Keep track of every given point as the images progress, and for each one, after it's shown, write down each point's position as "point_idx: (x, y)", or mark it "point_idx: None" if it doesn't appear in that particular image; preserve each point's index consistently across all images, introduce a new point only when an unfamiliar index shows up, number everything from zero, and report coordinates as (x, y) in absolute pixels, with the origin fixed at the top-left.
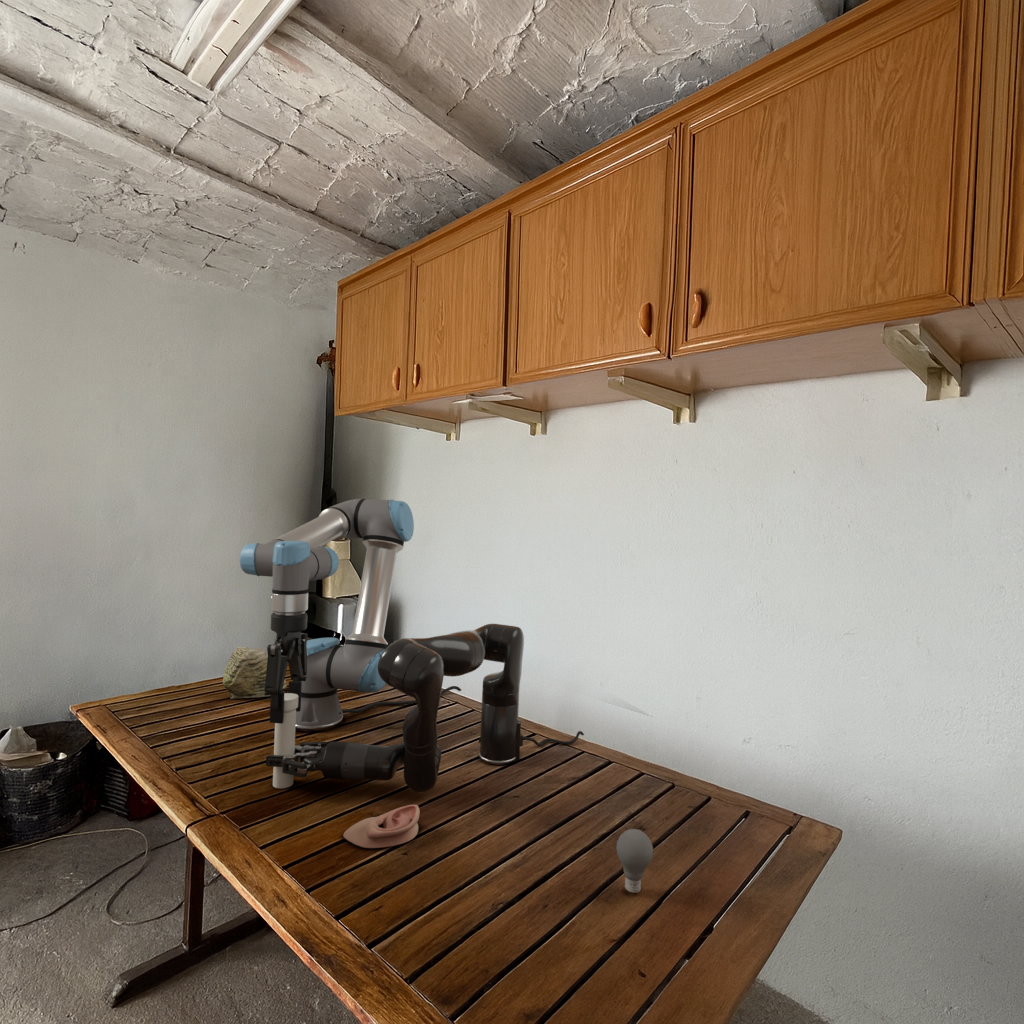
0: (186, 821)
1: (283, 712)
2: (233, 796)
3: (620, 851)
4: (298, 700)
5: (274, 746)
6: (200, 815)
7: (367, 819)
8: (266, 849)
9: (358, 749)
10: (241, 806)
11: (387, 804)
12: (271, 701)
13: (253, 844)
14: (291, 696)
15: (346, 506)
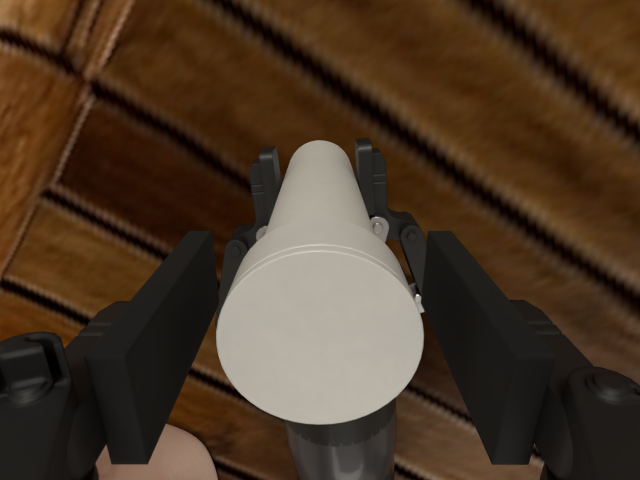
0: (3, 5)
1: (201, 338)
2: (198, 57)
3: None
4: (440, 339)
5: (289, 179)
6: (52, 26)
7: (163, 456)
8: (2, 296)
9: (317, 477)
10: (151, 123)
11: (280, 446)
12: (78, 343)
13: (4, 260)
14: (336, 378)
15: None
